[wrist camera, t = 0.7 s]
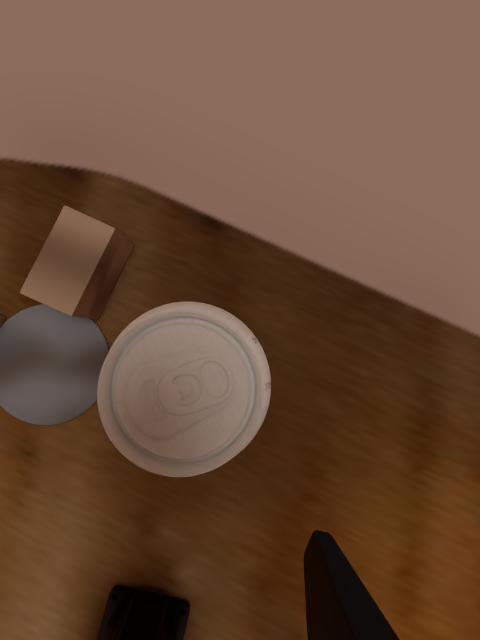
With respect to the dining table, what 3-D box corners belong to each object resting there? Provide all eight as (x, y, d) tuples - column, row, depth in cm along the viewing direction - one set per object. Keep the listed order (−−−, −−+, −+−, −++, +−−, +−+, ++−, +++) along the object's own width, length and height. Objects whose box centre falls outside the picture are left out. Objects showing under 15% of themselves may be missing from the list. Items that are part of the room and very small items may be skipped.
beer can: (166, 334, 24) (58, 334, 9) (233, 310, 24) (238, 272, 9) (189, 402, 24) (119, 520, 9) (257, 377, 24) (302, 449, 9)
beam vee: (182, 377, 24) (172, 386, 20) (-49, 464, 23) (-109, 492, 19) (123, 216, 24) (102, 192, 20) (-105, 294, 23) (-174, 285, 19)
